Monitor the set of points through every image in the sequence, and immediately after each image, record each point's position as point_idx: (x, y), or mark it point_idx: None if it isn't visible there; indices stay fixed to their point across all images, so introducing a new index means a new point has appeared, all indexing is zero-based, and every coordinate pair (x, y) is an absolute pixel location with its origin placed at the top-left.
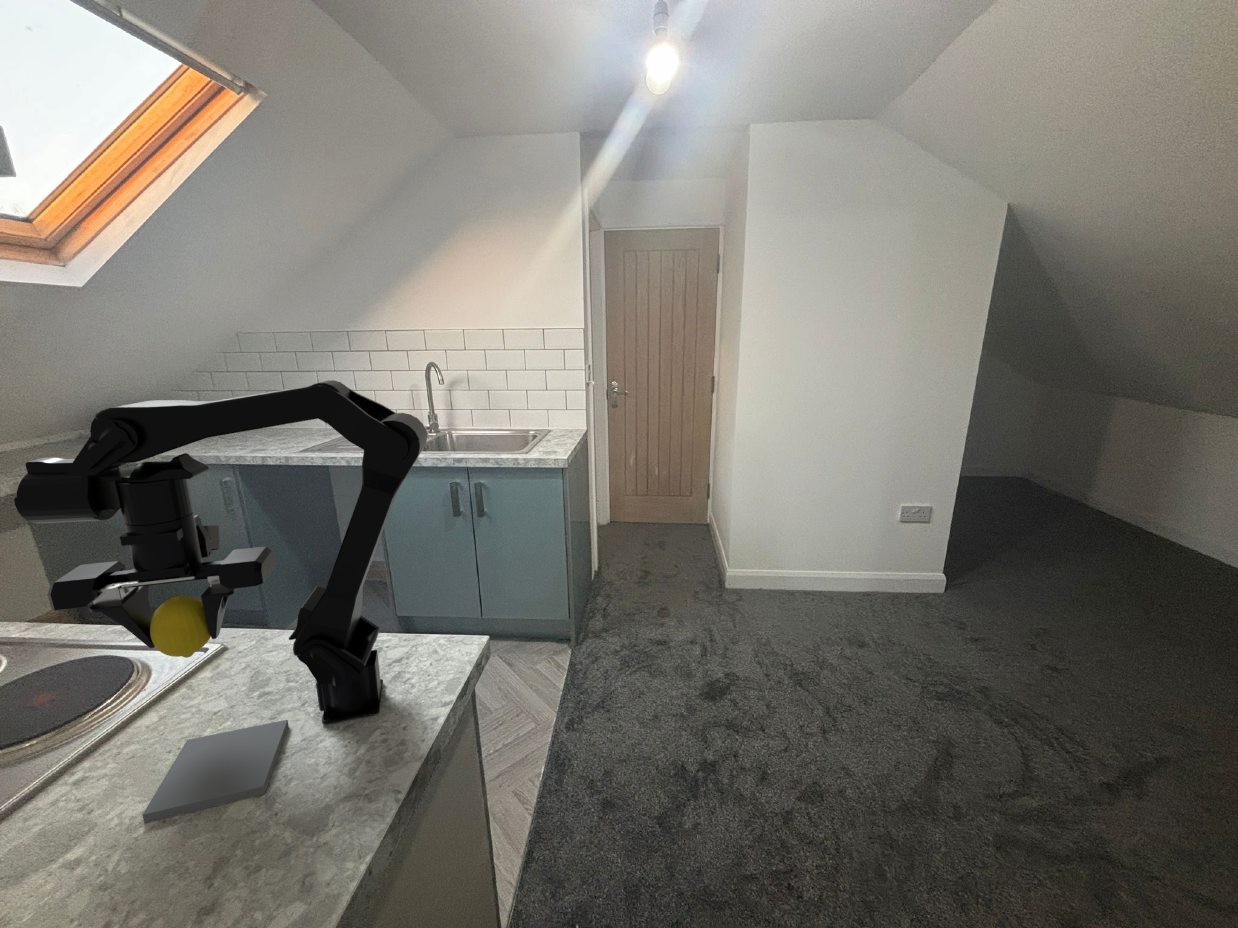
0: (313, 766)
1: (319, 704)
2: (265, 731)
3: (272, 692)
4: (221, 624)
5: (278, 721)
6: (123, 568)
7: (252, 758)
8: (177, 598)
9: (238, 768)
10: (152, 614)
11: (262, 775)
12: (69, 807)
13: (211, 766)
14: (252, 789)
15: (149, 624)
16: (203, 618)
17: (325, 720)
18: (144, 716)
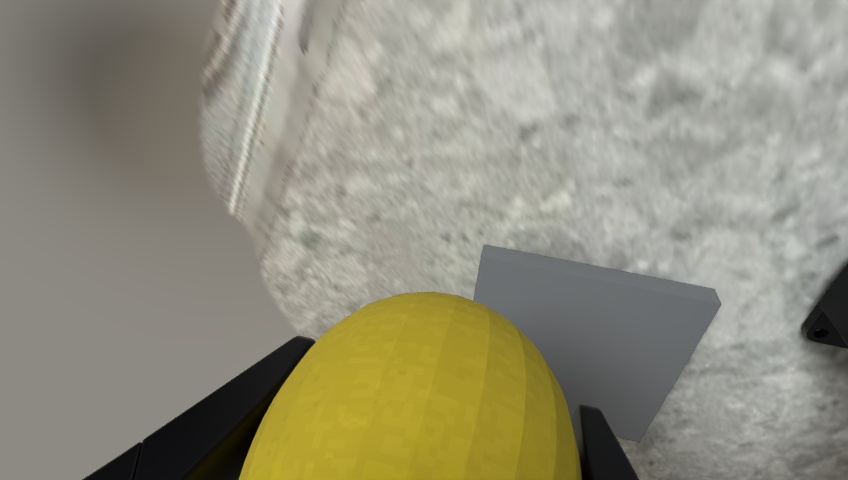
0: (734, 418)
1: (831, 320)
2: (659, 319)
3: (699, 98)
4: (627, 462)
5: (696, 300)
6: None
7: (624, 379)
8: None
9: (597, 387)
10: (192, 469)
11: (640, 423)
12: (331, 297)
13: (546, 357)
14: (620, 435)
15: (237, 474)
16: None
17: (815, 338)
18: (331, 52)
